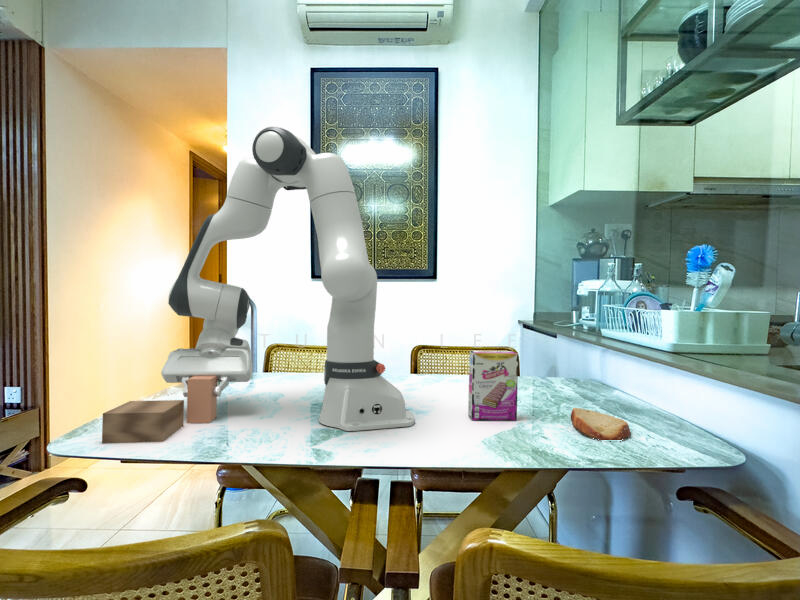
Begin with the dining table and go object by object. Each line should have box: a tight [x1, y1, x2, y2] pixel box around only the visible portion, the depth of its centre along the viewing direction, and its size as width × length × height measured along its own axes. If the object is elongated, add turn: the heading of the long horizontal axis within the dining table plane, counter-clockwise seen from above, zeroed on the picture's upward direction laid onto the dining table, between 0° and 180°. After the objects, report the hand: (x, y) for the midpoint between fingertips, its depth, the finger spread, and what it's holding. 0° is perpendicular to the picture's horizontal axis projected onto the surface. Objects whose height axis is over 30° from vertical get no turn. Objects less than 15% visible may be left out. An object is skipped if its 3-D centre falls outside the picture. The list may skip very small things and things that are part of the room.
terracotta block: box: [186, 376, 218, 424], centre depth 99 cm, size 5×5×10 cm
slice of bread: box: [570, 407, 632, 441], centre depth 98 cm, size 18×18×4 cm
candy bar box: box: [467, 350, 519, 421], centre depth 104 cm, size 11×5×16 cm, turn 92°
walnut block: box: [101, 399, 185, 445], centre depth 88 cm, size 11×11×6 cm
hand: (201, 395), depth 99 cm, fingers closed on terracotta block, 5 cm apart
